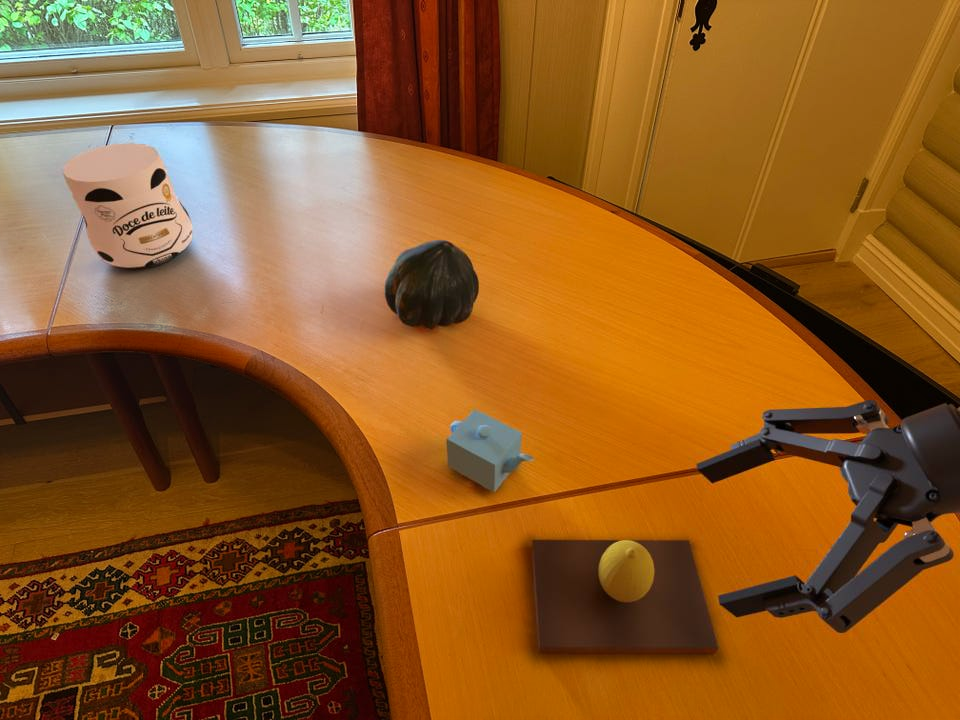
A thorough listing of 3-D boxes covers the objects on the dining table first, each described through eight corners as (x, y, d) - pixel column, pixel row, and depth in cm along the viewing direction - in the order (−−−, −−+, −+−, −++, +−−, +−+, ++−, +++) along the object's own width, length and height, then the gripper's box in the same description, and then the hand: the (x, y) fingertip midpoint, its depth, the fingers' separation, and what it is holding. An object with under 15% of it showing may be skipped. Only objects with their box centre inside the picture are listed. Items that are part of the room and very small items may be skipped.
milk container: (167, 282, 108) (127, 189, 96) (80, 272, 111) (30, 180, 98) (214, 231, 121) (184, 144, 108) (136, 223, 123) (97, 136, 111)
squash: (364, 272, 101) (387, 240, 88) (441, 248, 108) (473, 215, 94) (397, 350, 101) (424, 330, 87) (472, 321, 107) (509, 299, 94)
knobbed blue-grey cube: (542, 476, 78) (546, 438, 72) (517, 510, 74) (519, 473, 69) (465, 435, 83) (464, 397, 77) (438, 465, 79) (436, 427, 74)
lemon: (616, 556, 68) (628, 517, 62) (656, 592, 65) (672, 554, 59) (583, 586, 65) (592, 548, 60) (623, 626, 62) (636, 589, 57)
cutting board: (686, 546, 70) (689, 540, 69) (715, 653, 62) (719, 648, 61) (531, 546, 70) (532, 539, 69) (538, 653, 62) (539, 647, 61)
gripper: (1106, 642, 36) (764, 696, 48) (932, 360, 54) (715, 448, 66) (1069, 589, 33) (713, 660, 45) (898, 308, 51) (676, 411, 63)
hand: (714, 534), depth 55 cm, fingers open, 13 cm apart
